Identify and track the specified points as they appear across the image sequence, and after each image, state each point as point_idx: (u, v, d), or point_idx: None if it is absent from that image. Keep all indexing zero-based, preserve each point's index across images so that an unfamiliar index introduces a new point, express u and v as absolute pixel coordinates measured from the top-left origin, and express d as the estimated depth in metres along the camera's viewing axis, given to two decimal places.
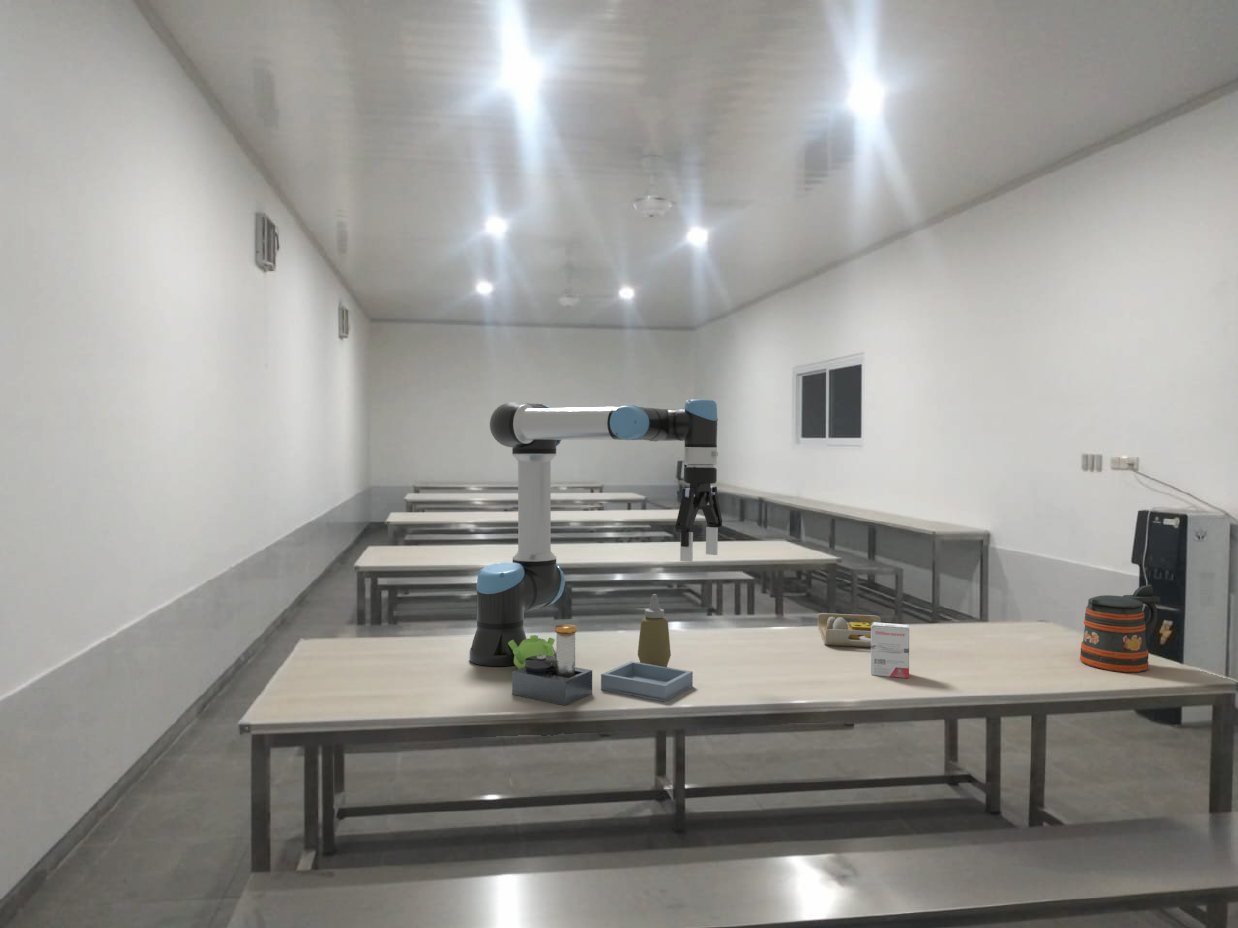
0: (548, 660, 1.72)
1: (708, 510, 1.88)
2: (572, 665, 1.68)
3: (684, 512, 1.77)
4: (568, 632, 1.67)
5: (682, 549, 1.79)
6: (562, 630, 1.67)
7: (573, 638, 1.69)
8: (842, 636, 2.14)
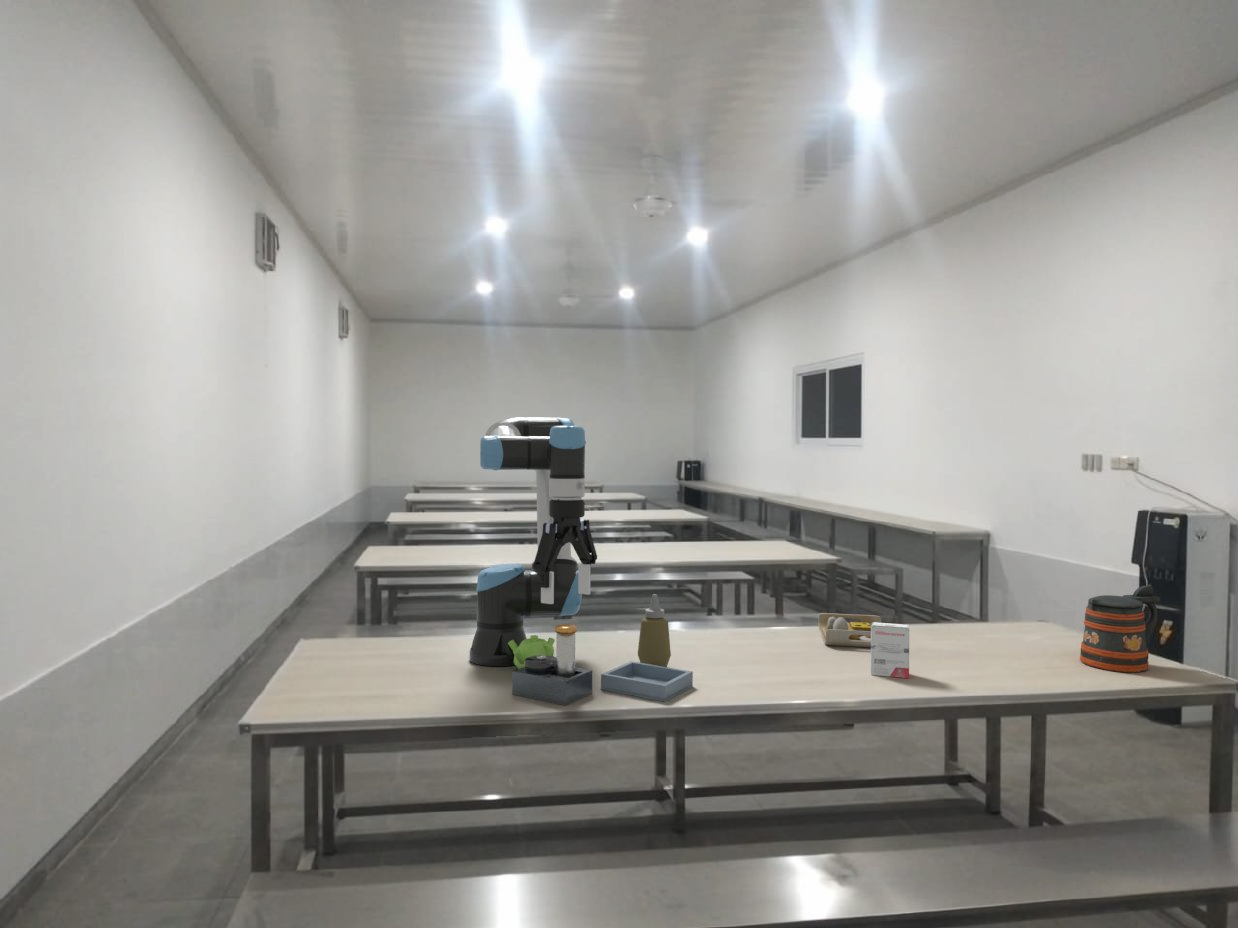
0: (548, 660, 1.72)
1: (578, 546, 1.72)
2: (572, 665, 1.68)
3: (543, 550, 1.62)
4: (568, 632, 1.67)
5: (543, 590, 1.64)
6: (562, 630, 1.67)
7: (573, 638, 1.69)
8: (842, 636, 2.14)
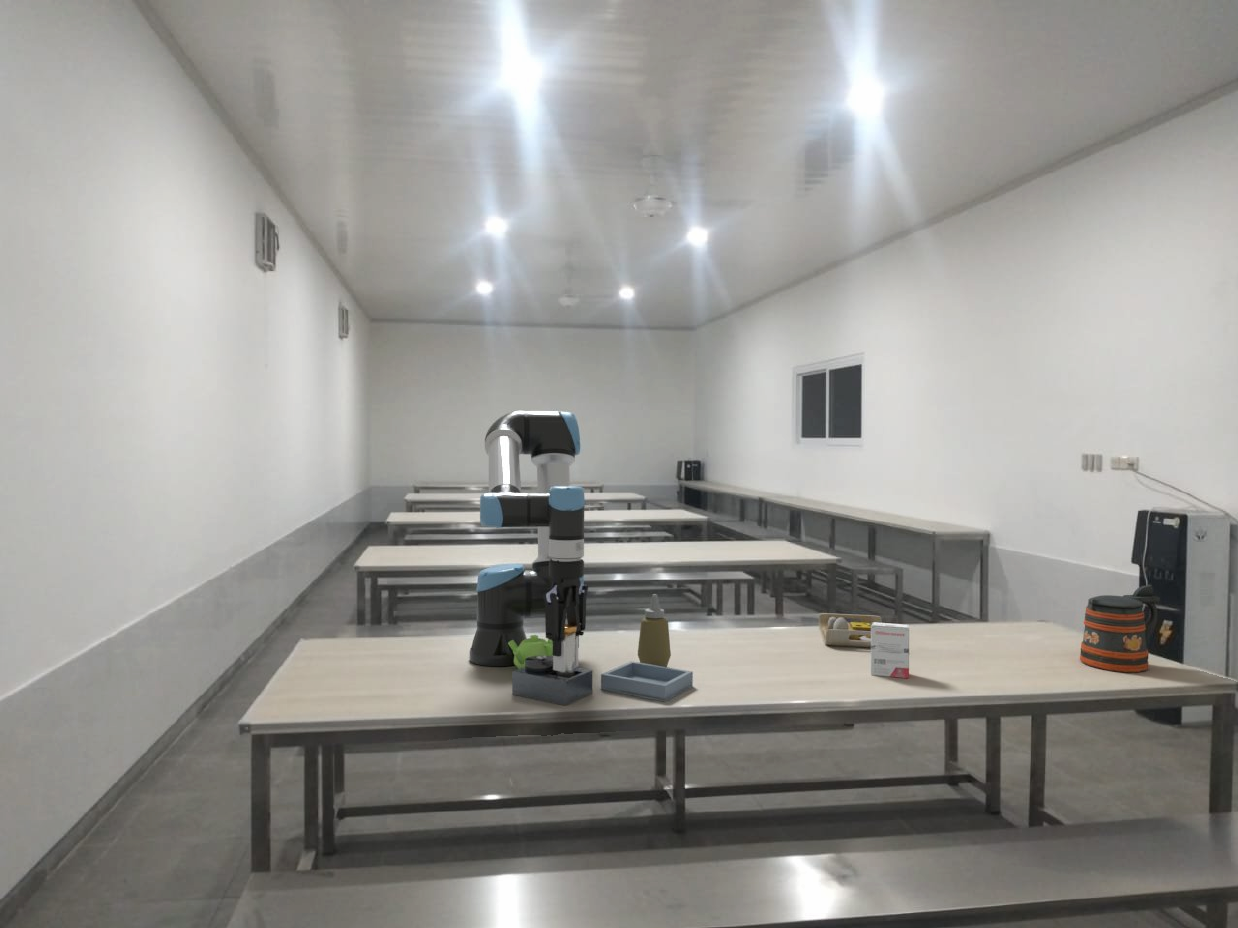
0: (548, 660, 1.72)
1: (572, 610, 1.71)
2: (572, 665, 1.68)
3: (550, 620, 1.64)
4: (568, 632, 1.67)
5: (555, 658, 1.68)
6: None
7: (573, 638, 1.69)
8: (842, 636, 2.14)
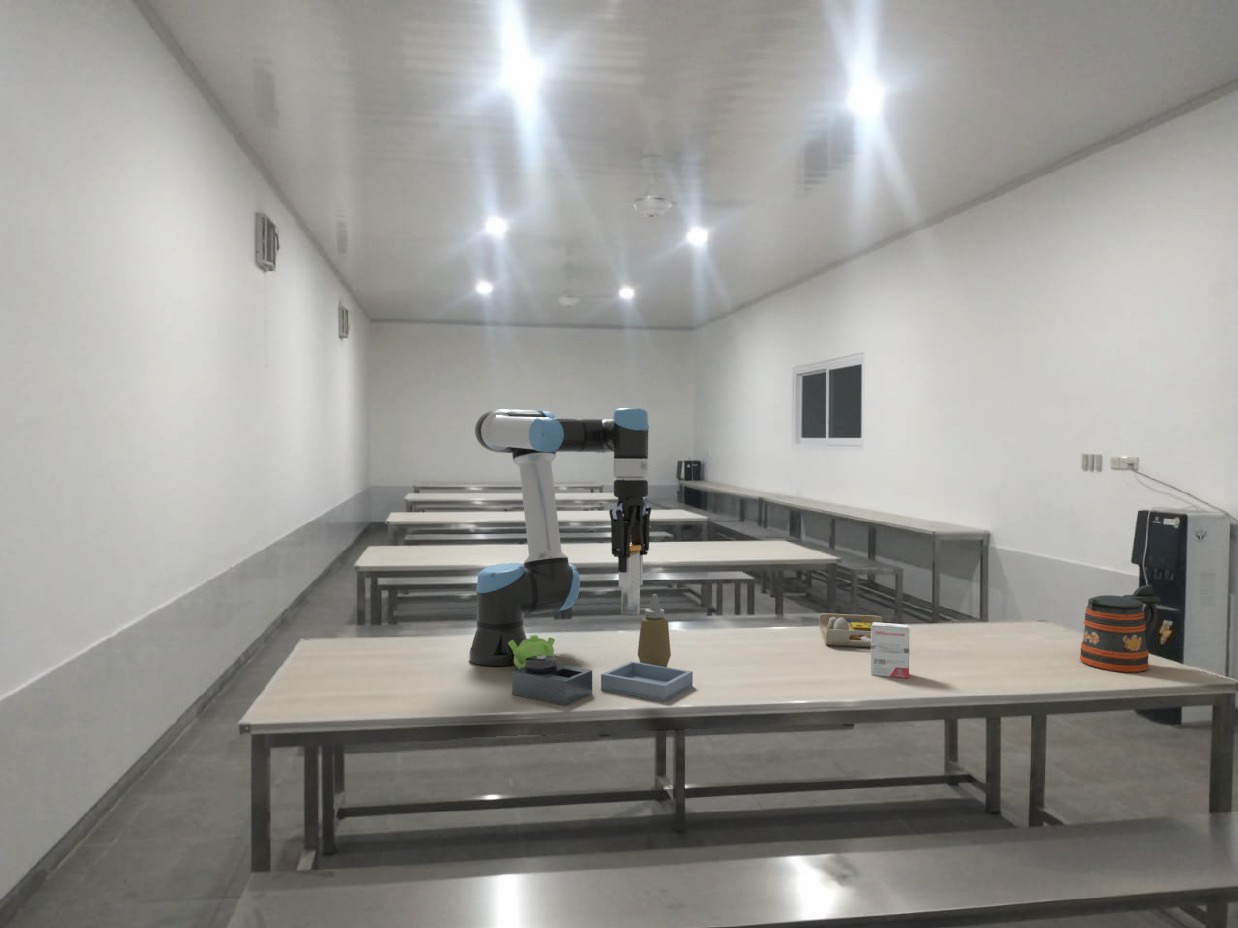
0: (548, 660, 1.72)
1: (636, 529, 1.75)
2: (637, 582, 1.73)
3: (616, 537, 1.69)
4: (633, 549, 1.72)
5: (620, 575, 1.72)
6: None
7: (638, 556, 1.73)
8: (842, 636, 2.14)
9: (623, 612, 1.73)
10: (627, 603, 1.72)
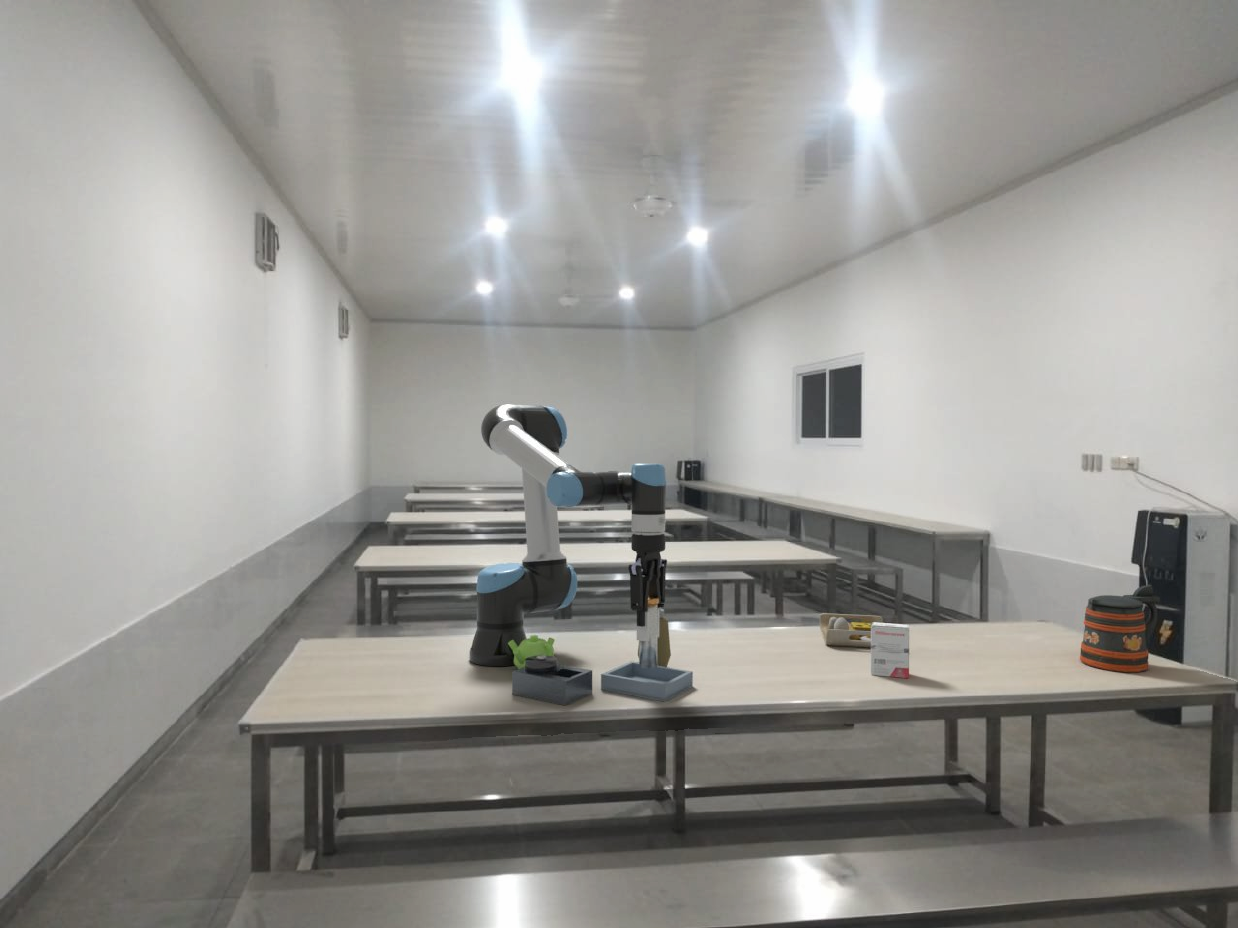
0: (548, 660, 1.72)
1: (653, 582, 1.77)
2: (655, 635, 1.75)
3: (635, 592, 1.71)
4: (651, 603, 1.74)
5: (638, 628, 1.74)
6: None
7: (656, 609, 1.75)
8: (843, 636, 2.14)
9: (641, 665, 1.75)
10: (645, 656, 1.74)
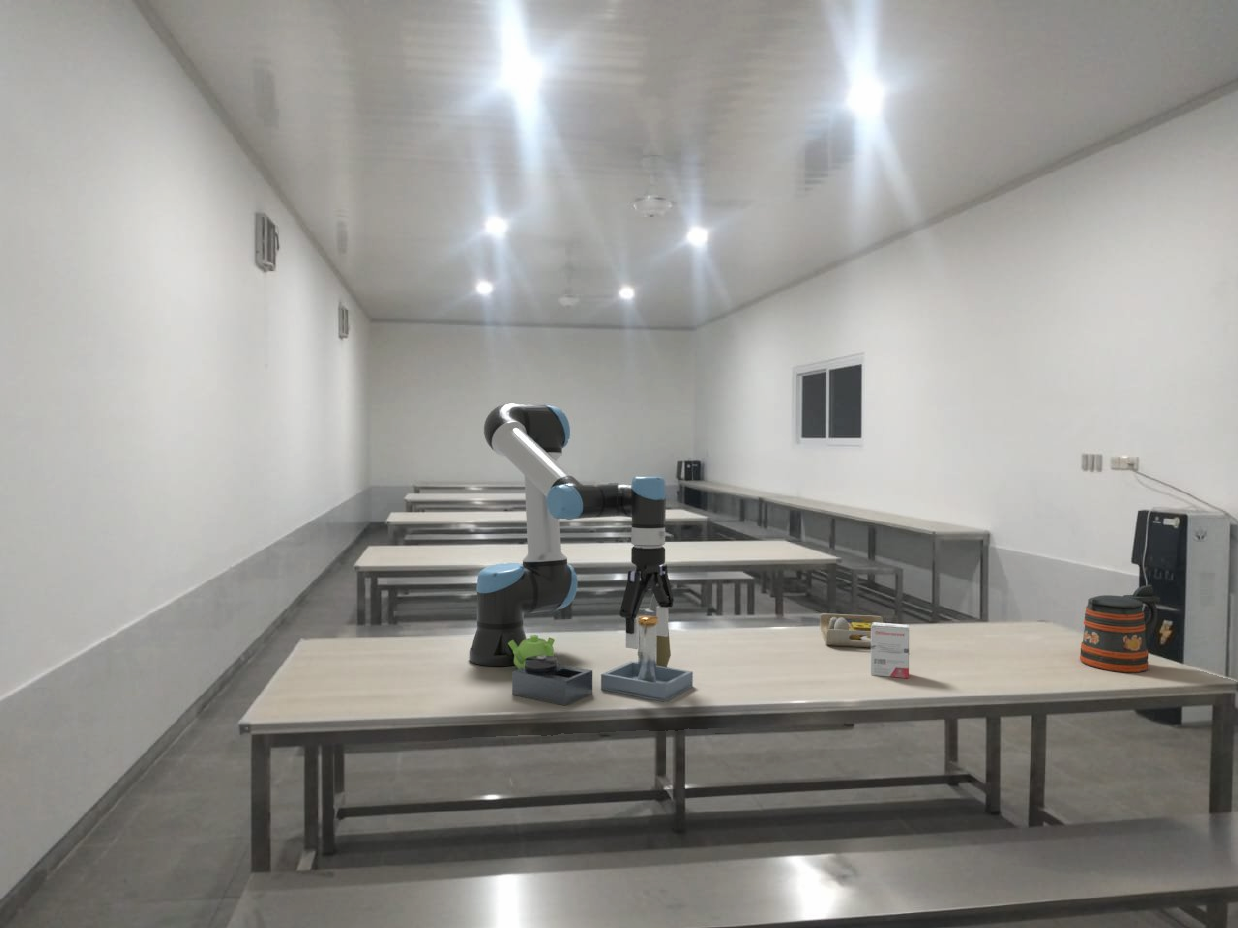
0: (548, 660, 1.72)
1: (657, 590, 1.79)
2: (654, 655, 1.75)
3: (628, 597, 1.69)
4: (651, 623, 1.74)
5: (627, 635, 1.71)
6: (645, 621, 1.74)
7: (655, 629, 1.75)
8: (843, 636, 2.14)
9: None
10: (644, 675, 1.75)
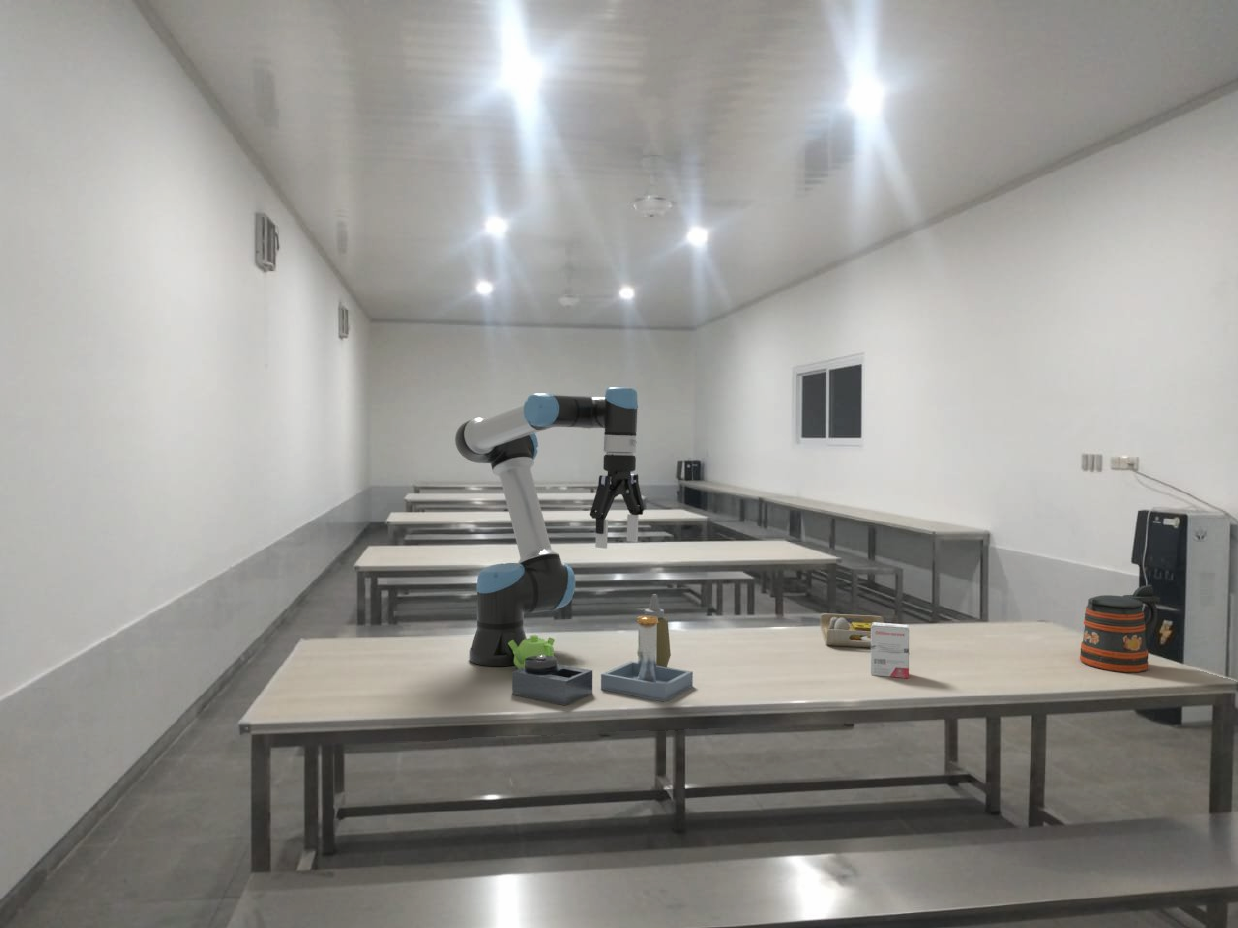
0: (548, 660, 1.72)
1: (628, 498, 1.89)
2: (654, 655, 1.75)
3: (599, 499, 1.79)
4: (650, 623, 1.74)
5: (597, 536, 1.81)
6: (645, 621, 1.74)
7: (655, 629, 1.75)
8: (843, 636, 2.14)
9: None
10: (644, 675, 1.75)
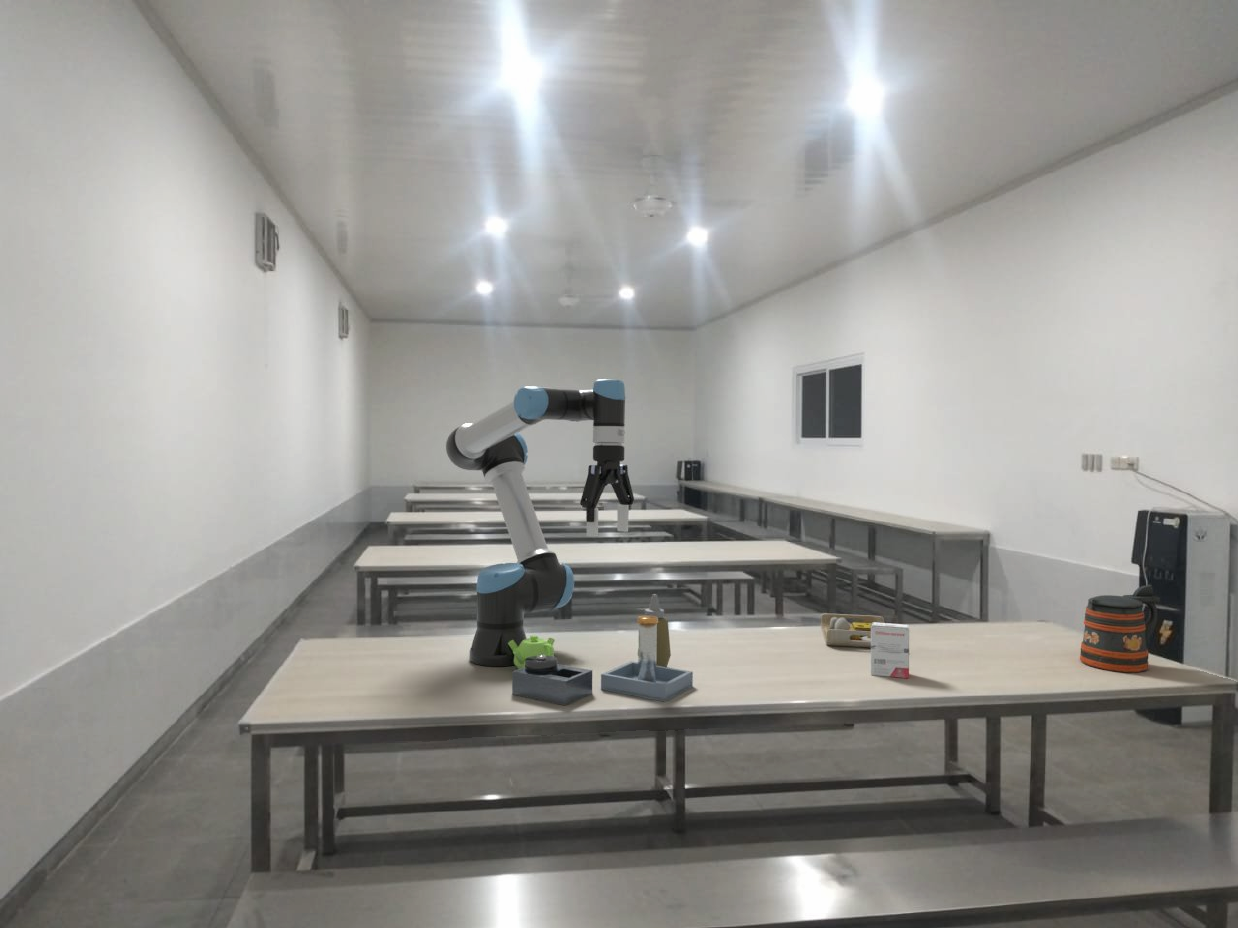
0: (548, 660, 1.72)
1: (618, 488, 1.93)
2: (654, 655, 1.75)
3: (589, 488, 1.82)
4: (651, 623, 1.74)
5: (588, 524, 1.84)
6: (645, 621, 1.74)
7: (655, 629, 1.75)
8: (843, 636, 2.14)
9: None
10: (644, 675, 1.75)
